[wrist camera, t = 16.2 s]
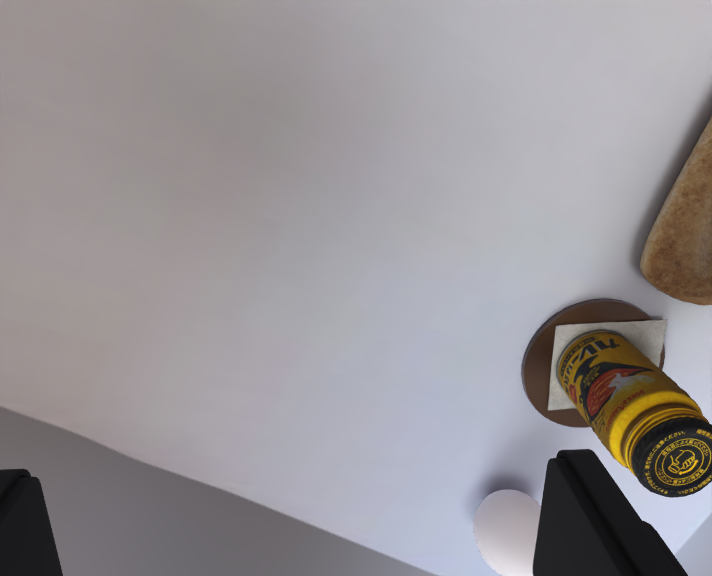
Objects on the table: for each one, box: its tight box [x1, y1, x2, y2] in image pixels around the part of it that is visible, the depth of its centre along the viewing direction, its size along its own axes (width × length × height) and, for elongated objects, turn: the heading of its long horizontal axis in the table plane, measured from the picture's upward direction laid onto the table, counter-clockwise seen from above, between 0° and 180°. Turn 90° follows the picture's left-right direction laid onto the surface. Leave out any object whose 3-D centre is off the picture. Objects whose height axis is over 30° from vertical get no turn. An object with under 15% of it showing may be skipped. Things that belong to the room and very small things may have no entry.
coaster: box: [522, 299, 665, 427], centre depth 45 cm, size 11×11×1 cm
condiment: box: [548, 319, 712, 497], centre depth 39 cm, size 7×8×12 cm
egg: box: [473, 489, 541, 576], centre depth 46 cm, size 6×6×8 cm
